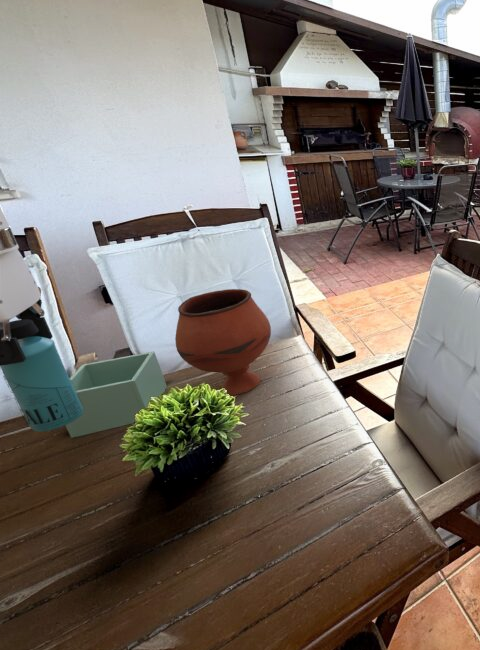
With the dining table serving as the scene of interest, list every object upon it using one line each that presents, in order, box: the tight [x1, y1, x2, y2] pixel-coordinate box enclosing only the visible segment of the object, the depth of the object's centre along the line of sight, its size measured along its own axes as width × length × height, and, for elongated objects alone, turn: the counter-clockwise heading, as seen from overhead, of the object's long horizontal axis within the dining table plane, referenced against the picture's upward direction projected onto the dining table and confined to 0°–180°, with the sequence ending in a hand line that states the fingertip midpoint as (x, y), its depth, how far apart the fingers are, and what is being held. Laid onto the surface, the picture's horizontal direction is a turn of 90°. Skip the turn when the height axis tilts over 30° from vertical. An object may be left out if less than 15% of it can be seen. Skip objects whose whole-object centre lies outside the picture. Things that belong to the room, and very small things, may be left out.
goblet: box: [174, 288, 272, 396], centre depth 100 cm, size 19×19×25 cm
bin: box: [65, 351, 168, 439], centre depth 94 cm, size 14×14×11 cm
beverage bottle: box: [0, 319, 83, 433], centre depth 65 cm, size 6×7×20 cm
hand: (25, 350), depth 63 cm, fingers closed on beverage bottle, 6 cm apart
